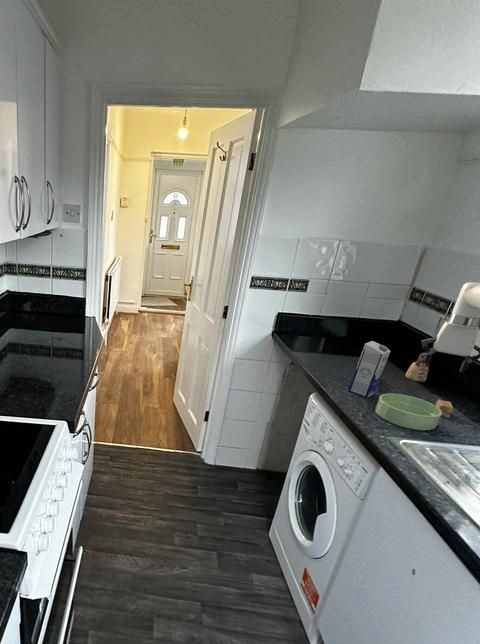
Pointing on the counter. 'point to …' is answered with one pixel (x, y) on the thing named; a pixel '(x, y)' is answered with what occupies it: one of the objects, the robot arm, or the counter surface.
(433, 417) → the bowl
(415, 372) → the figurine
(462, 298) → the robot arm
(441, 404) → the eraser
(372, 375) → the milk carton
